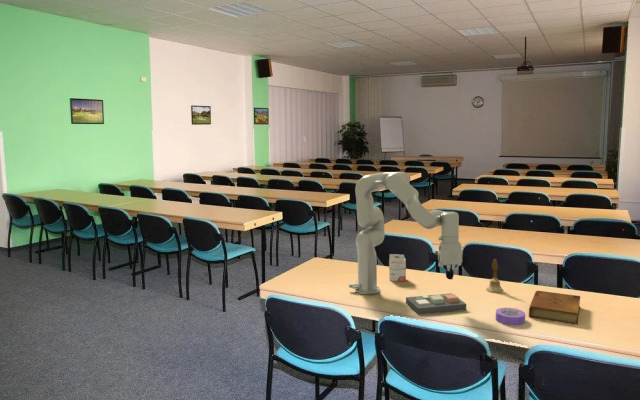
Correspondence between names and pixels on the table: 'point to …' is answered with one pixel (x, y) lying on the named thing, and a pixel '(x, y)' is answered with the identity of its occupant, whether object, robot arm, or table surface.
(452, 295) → the key terracotta
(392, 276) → the ink cartridge box
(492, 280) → the hand bell
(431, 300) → the key sage
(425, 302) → the key cream
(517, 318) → the masking tape
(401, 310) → the table surface
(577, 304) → the diary
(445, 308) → the keypad
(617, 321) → the table surface
